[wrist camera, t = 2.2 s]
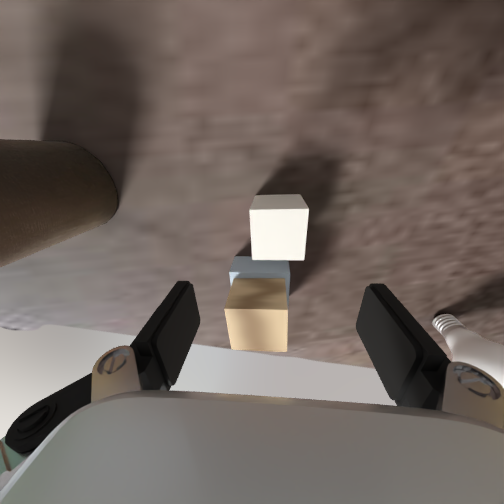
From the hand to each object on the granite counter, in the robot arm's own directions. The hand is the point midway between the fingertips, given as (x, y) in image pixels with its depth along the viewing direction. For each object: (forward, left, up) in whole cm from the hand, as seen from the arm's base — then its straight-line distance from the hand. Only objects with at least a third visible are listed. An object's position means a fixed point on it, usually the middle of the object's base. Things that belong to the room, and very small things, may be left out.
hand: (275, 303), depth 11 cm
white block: (0, -1, -14) cm, 14 cm away
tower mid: (+2, +9, -10) cm, 14 cm away
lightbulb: (-23, +15, -14) cm, 31 cm away
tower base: (+2, +8, -14) cm, 17 cm away
